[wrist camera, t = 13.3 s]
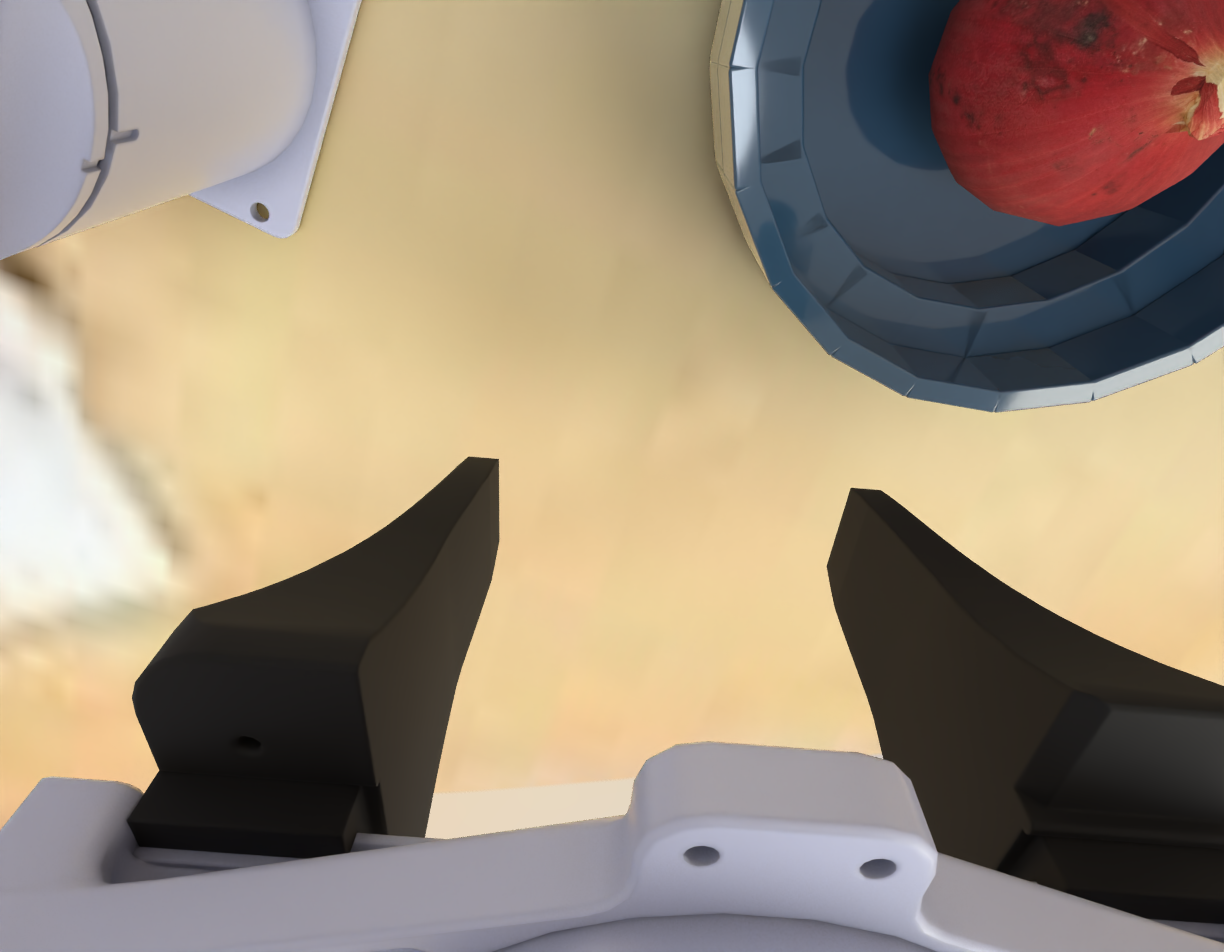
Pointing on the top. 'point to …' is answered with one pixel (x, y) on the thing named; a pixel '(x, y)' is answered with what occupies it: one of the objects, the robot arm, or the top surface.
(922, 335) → the bowl
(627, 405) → the top surface
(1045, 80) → the pomegranate
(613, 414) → the top surface
